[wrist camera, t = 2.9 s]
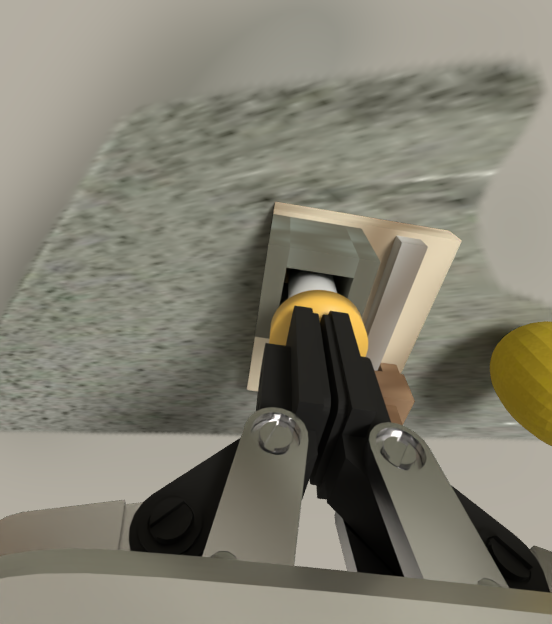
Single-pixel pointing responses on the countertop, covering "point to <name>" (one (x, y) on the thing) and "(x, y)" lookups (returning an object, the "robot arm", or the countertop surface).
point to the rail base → (357, 274)
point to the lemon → (526, 377)
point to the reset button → (315, 305)
